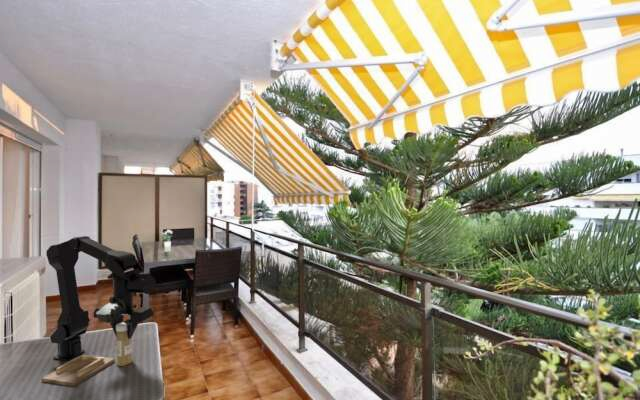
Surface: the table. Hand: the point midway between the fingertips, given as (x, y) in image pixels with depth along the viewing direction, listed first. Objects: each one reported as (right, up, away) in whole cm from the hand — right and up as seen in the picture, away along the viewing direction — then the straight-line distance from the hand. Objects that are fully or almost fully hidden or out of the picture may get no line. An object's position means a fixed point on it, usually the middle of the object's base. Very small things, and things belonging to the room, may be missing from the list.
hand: (124, 337), depth 104 cm
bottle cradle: (-11, -9, -5) cm, 15 cm away
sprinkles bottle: (0, -9, 0) cm, 9 cm away
